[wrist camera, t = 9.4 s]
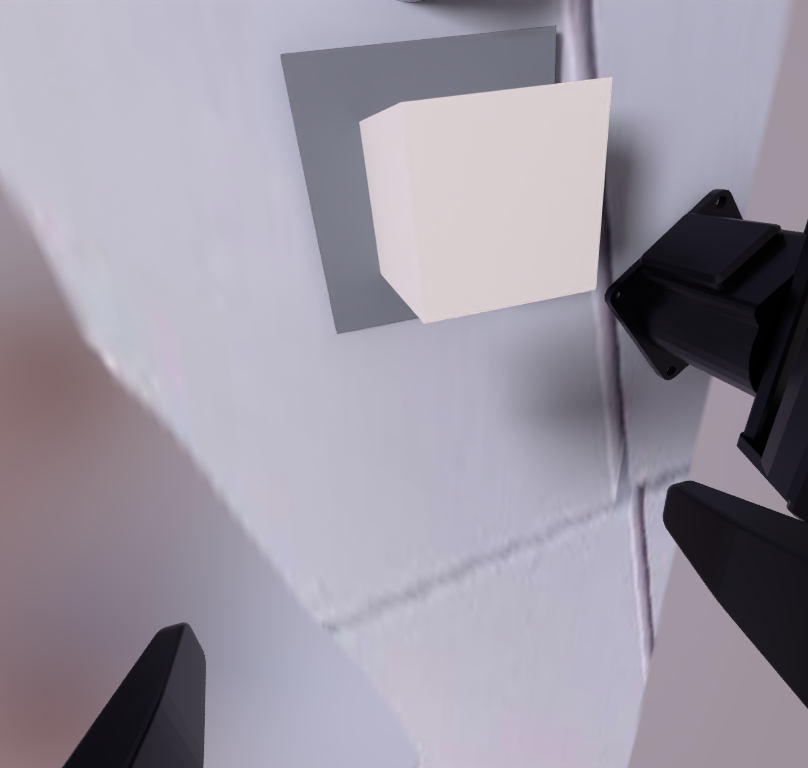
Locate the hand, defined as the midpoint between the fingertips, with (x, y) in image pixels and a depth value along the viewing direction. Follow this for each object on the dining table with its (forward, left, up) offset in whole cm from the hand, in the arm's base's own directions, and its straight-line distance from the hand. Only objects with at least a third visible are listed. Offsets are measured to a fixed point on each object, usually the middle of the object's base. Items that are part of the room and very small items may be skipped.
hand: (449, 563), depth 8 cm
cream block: (+2, -6, -11) cm, 13 cm away
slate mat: (+2, -6, -12) cm, 14 cm away
